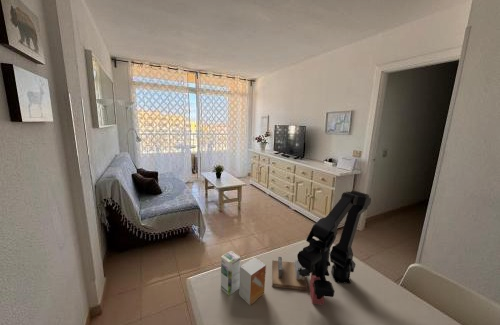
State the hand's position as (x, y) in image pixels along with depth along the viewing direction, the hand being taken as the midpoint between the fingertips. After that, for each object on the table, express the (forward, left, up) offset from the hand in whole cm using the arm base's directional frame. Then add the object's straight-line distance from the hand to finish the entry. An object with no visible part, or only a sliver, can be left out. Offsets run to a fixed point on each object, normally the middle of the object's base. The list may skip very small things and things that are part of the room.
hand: (316, 291), depth 78 cm
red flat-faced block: (0, 0, -2) cm, 2 cm away
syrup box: (+34, 0, -3) cm, 34 cm away
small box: (+25, +2, -3) cm, 25 cm away
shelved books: (+5, -10, -1) cm, 11 cm away
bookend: (+14, -10, -1) cm, 17 cm away
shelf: (+10, -10, -2) cm, 14 cm away
